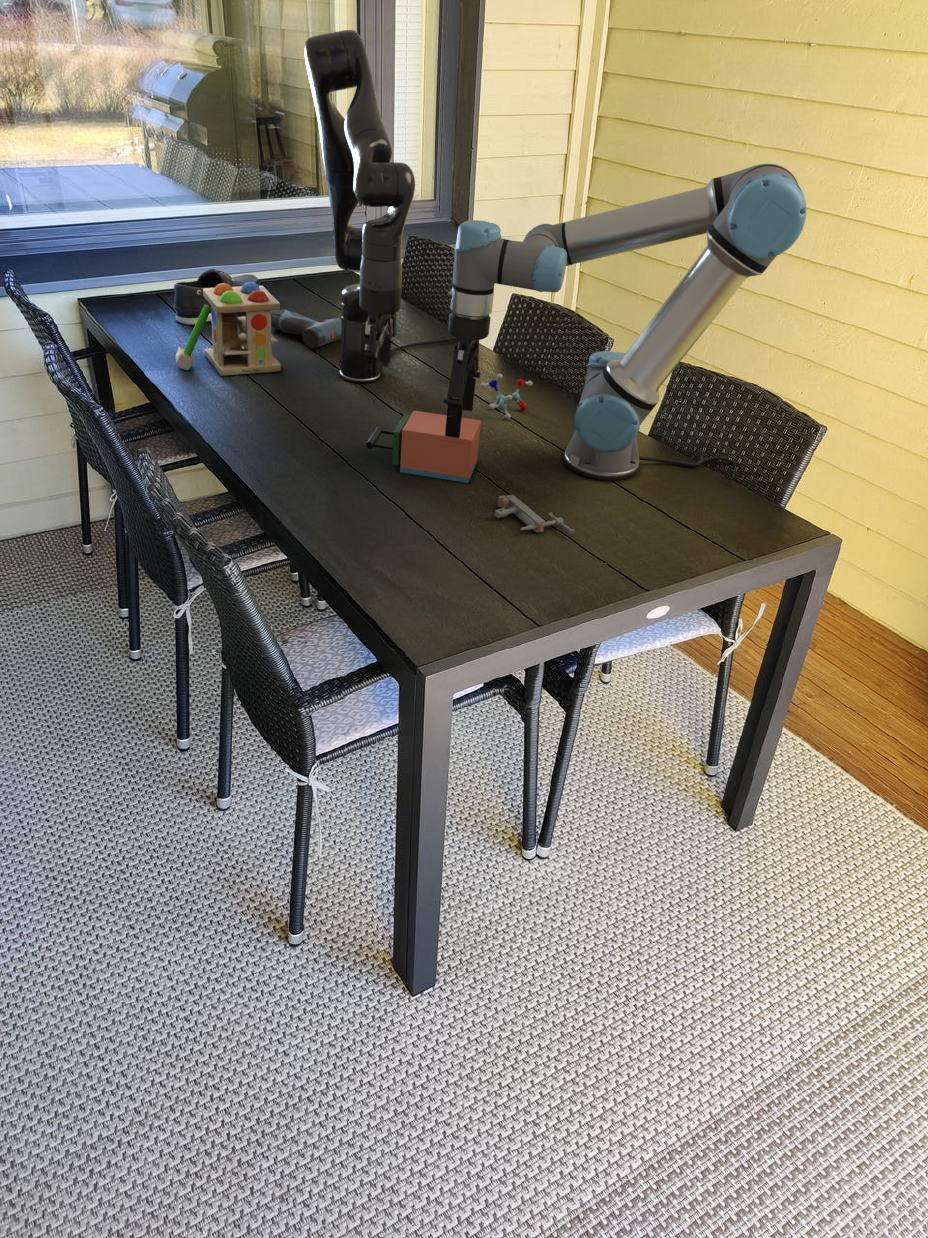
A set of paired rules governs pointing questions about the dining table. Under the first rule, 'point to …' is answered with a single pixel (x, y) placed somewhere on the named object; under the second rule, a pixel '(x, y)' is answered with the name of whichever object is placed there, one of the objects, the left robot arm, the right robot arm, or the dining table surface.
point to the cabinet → (439, 447)
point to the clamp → (526, 514)
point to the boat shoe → (191, 293)
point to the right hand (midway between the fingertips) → (459, 422)
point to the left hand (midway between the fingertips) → (377, 369)
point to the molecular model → (501, 397)
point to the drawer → (396, 440)
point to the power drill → (307, 327)
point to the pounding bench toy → (229, 347)
